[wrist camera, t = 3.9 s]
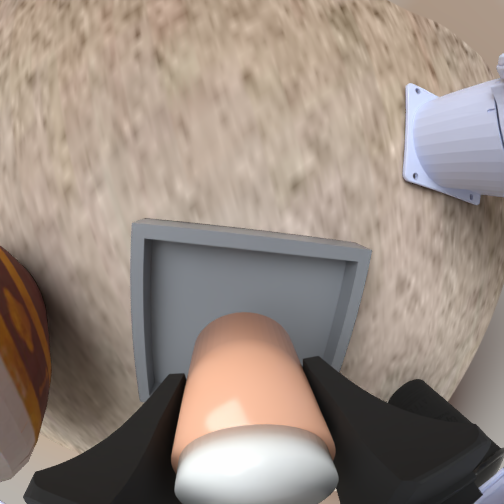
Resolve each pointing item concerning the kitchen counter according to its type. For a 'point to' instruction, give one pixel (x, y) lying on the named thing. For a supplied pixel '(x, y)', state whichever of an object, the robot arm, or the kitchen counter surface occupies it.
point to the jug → (21, 365)
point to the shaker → (250, 420)
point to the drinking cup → (434, 406)
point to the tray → (237, 290)
